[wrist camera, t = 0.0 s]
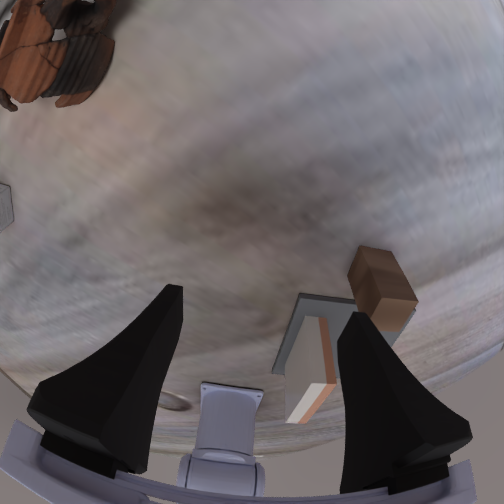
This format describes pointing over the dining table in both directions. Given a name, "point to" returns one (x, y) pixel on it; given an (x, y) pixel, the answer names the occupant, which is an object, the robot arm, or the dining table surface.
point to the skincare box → (5, 207)
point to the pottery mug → (54, 51)
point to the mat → (336, 320)
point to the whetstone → (309, 371)
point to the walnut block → (381, 288)
